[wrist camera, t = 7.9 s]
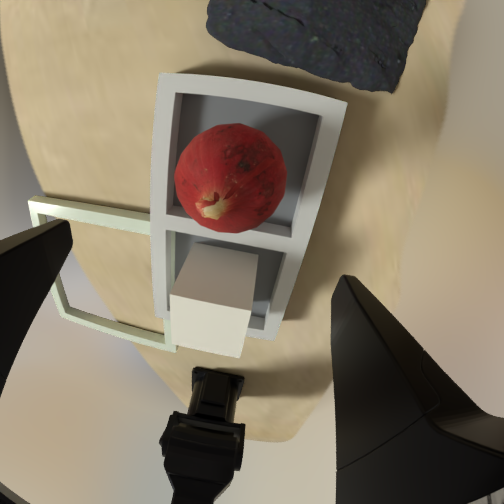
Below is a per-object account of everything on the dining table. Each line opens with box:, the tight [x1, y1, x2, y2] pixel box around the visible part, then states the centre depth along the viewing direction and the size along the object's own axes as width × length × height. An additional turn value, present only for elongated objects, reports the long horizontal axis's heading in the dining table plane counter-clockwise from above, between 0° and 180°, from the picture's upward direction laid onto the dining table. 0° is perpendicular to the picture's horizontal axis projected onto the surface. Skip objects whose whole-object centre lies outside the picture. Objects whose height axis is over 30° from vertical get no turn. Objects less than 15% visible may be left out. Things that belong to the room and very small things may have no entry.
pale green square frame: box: [28, 195, 179, 353], centre depth 25 cm, size 16×16×1 cm
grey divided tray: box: [150, 73, 347, 341], centre depth 20 cm, size 20×11×2 cm, turn 170°
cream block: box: [170, 242, 259, 358], centre depth 20 cm, size 5×5×6 cm
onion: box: [174, 123, 287, 234], centre depth 14 cm, size 6×6×8 cm
